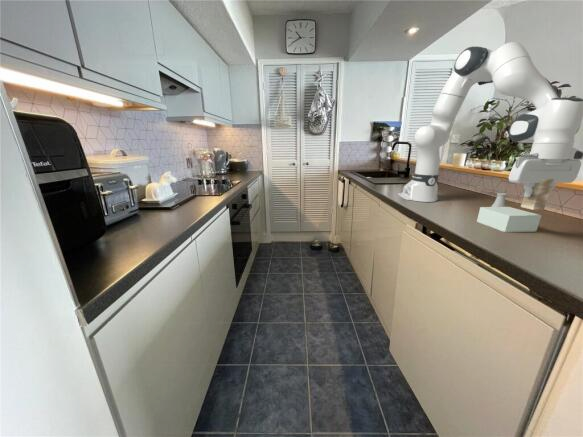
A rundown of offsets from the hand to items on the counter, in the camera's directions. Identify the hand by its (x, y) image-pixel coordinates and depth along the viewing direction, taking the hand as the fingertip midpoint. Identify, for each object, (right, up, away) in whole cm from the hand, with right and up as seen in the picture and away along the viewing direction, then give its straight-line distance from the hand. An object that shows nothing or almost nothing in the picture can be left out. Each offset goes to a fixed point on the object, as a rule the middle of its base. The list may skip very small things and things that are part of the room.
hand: (535, 196), depth 78 cm
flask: (+7, -7, +24) cm, 26 cm away
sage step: (-1, -10, +11) cm, 15 cm away
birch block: (0, -4, +1) cm, 4 cm away
